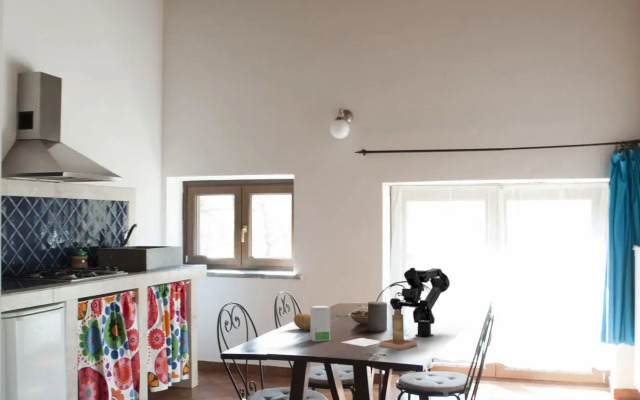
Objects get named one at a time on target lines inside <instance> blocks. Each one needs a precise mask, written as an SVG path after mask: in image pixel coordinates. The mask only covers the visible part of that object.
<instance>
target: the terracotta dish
mask: <svg viewBox="0 0 640 400" xmlns="http://www.w3.org/2000/svg"><path fill="white" fill-rule="evenodd" d="M380 341H381V342H380V343H379V347H382V348H389V349H393V350H395V351H404V350H405V351H406V350H407V349H412V348H416V347H418V341H417V340H410V339H405V338H404V344H402V345H399V344H393V338H390V339H385V340H380Z"/></svg>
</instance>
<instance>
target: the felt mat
mask: <svg viewBox="0 0 640 400" xmlns="http://www.w3.org/2000/svg"><path fill="white" fill-rule="evenodd" d="M381 341H382V340H375V339H370V338H365V337H359V338H354V339H351V340H345V341H341V344H343V343H344V344H348V345H352V346H353V345H354V346H357V347H358V346H359V347H364V348H365V347H368V346H373V345H377V344H380V342H381Z"/></svg>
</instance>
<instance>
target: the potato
mask: <svg viewBox="0 0 640 400" xmlns="http://www.w3.org/2000/svg"><path fill="white" fill-rule="evenodd" d="M310 320H311V314H310V313H309V314H308V313H297V314H296V315H294V317H293V322H294V324H295V326H296V327H297V328H298V329H300V330H303V331H310Z"/></svg>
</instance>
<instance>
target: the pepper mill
mask: <svg viewBox="0 0 640 400" xmlns="http://www.w3.org/2000/svg"><path fill="white" fill-rule="evenodd" d="M391 318H392V319H391V320H392V321H391V322H392V323H391V324H392V325H391V326H392V327H391V328H392V339H393V344H399V345H402V344H404V339H405V338H404V335H405V334H404V332H405V331H404V329H405V328H404V314H402V310H401V311H400V310H398V309H397V310H394V312H393V314H392V315H391Z"/></svg>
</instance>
